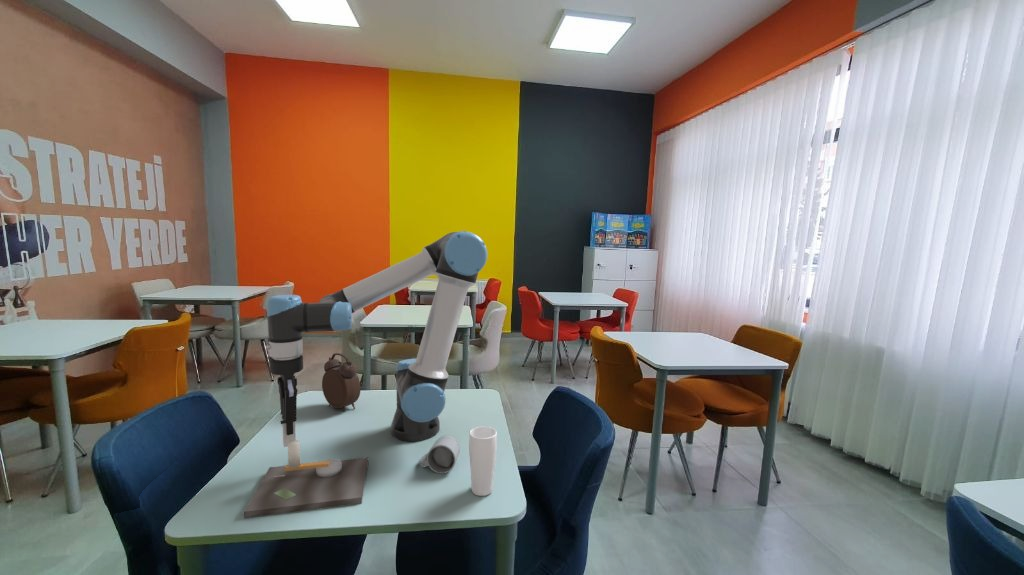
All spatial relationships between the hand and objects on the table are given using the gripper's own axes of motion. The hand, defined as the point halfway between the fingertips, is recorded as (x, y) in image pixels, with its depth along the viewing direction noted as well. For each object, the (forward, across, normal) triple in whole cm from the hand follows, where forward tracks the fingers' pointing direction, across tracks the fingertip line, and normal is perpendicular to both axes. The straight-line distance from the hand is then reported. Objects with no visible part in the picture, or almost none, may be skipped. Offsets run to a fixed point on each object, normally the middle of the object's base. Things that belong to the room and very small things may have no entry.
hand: (289, 444), depth 108 cm
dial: (+5, +8, +4) cm, 10 cm away
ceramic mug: (+7, +20, +33) cm, 39 cm away
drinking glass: (+7, +36, +36) cm, 52 cm away
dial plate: (+7, +12, +3) cm, 14 cm away
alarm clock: (+7, -34, +22) cm, 41 cm away
